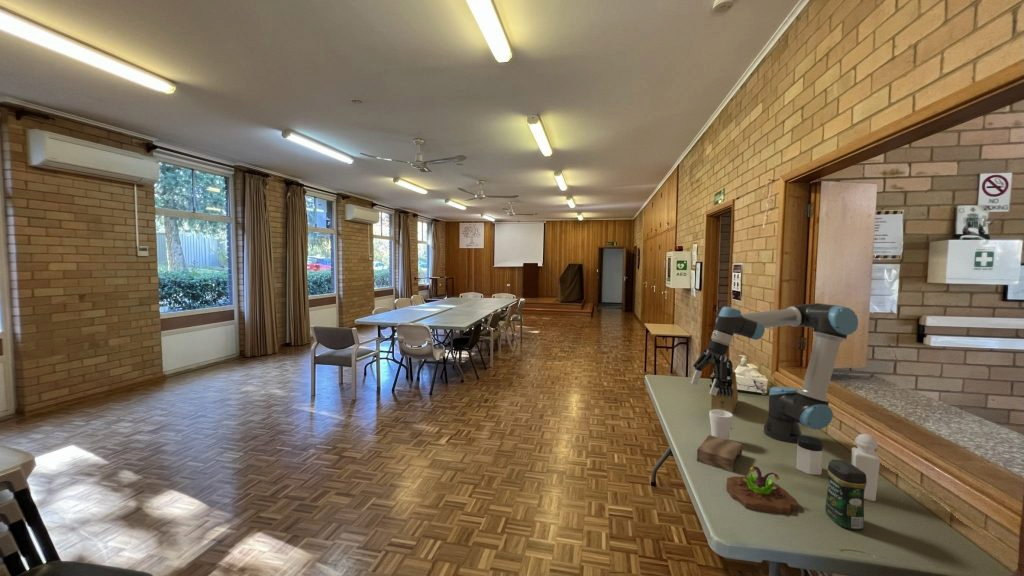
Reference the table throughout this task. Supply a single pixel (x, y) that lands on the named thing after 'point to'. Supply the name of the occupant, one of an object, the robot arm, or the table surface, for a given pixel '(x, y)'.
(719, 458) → the walnut shelf stand
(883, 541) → the table surface
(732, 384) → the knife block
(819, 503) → the table surface
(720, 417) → the foam cup
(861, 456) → the soap dispenser
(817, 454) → the jar
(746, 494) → the plant
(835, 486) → the coffee jar
